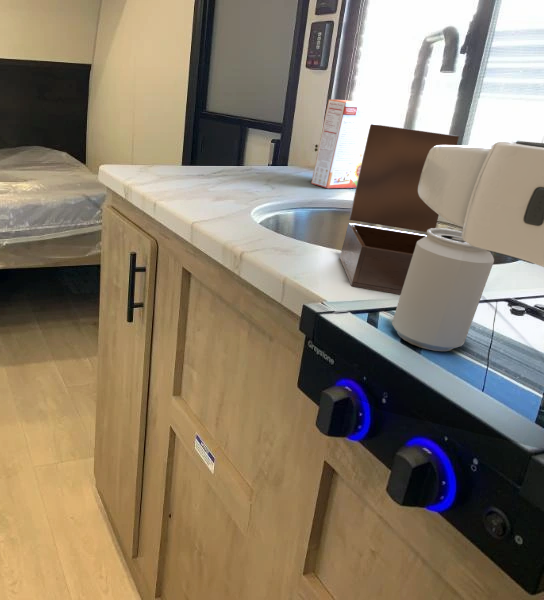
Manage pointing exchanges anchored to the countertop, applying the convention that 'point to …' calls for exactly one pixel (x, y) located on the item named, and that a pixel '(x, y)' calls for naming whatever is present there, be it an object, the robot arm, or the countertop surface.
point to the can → (441, 290)
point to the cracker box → (344, 142)
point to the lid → (395, 178)
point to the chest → (377, 257)
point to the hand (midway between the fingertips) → (535, 180)
